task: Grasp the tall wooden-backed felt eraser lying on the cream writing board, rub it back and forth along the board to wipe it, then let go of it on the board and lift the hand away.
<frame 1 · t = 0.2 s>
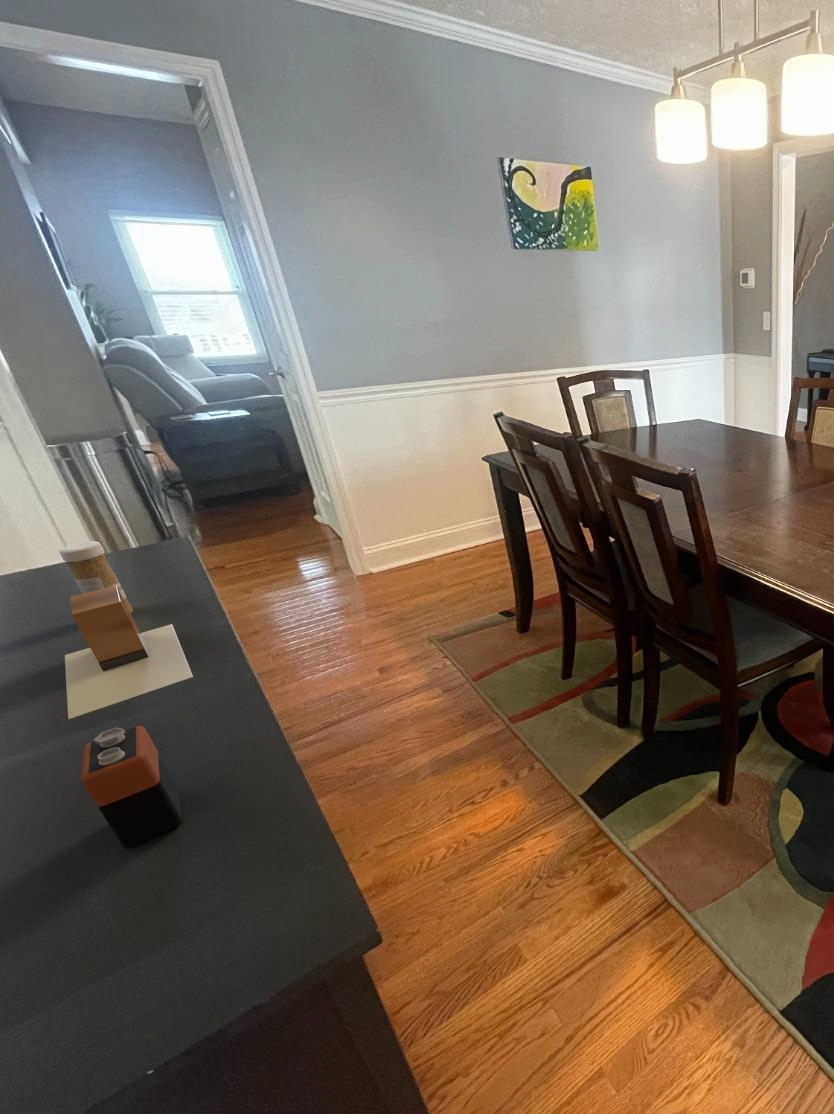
battery: (154, 820, 61), on the table
sprinkles bottle: (118, 620, 99), on the table
board: (129, 671, 85), on the table
eraser: (123, 652, 88), point 1 cm above the table, touching board
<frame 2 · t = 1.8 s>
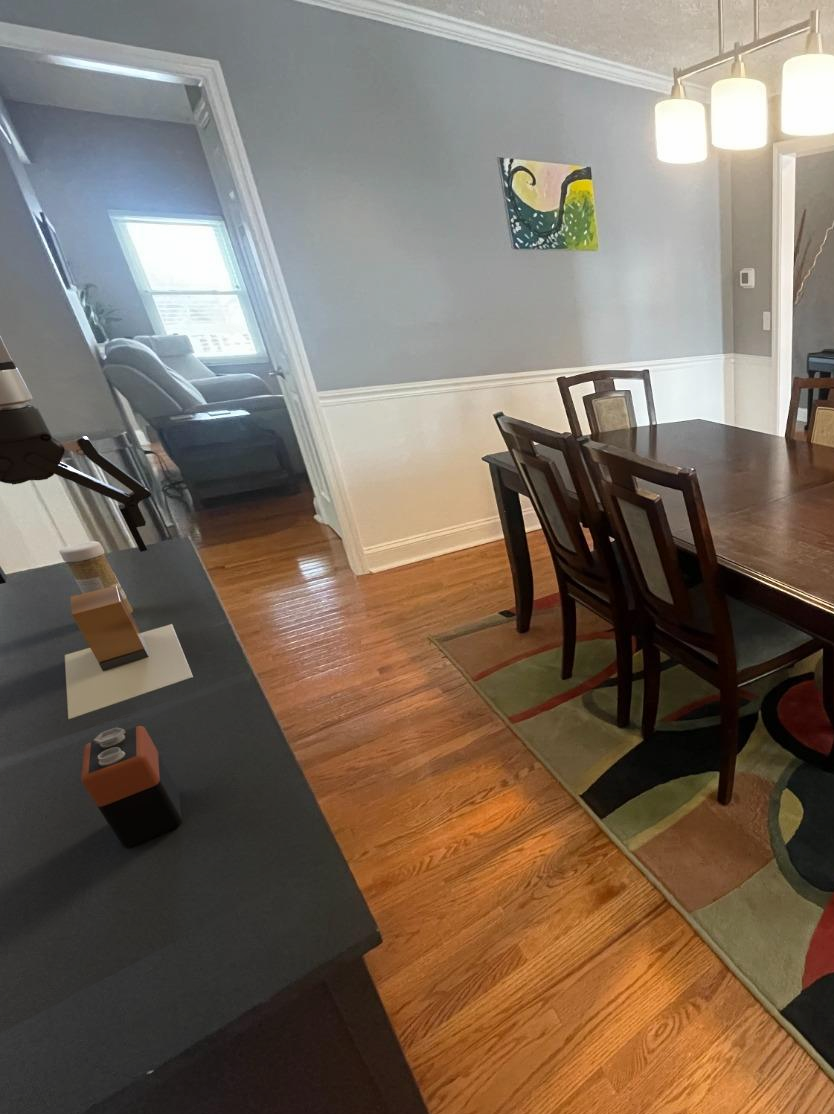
hand: (76, 564, 82), 15 cm above the table, tool pointing down, fingers open, 13 cm apart
nothing on the table moved.
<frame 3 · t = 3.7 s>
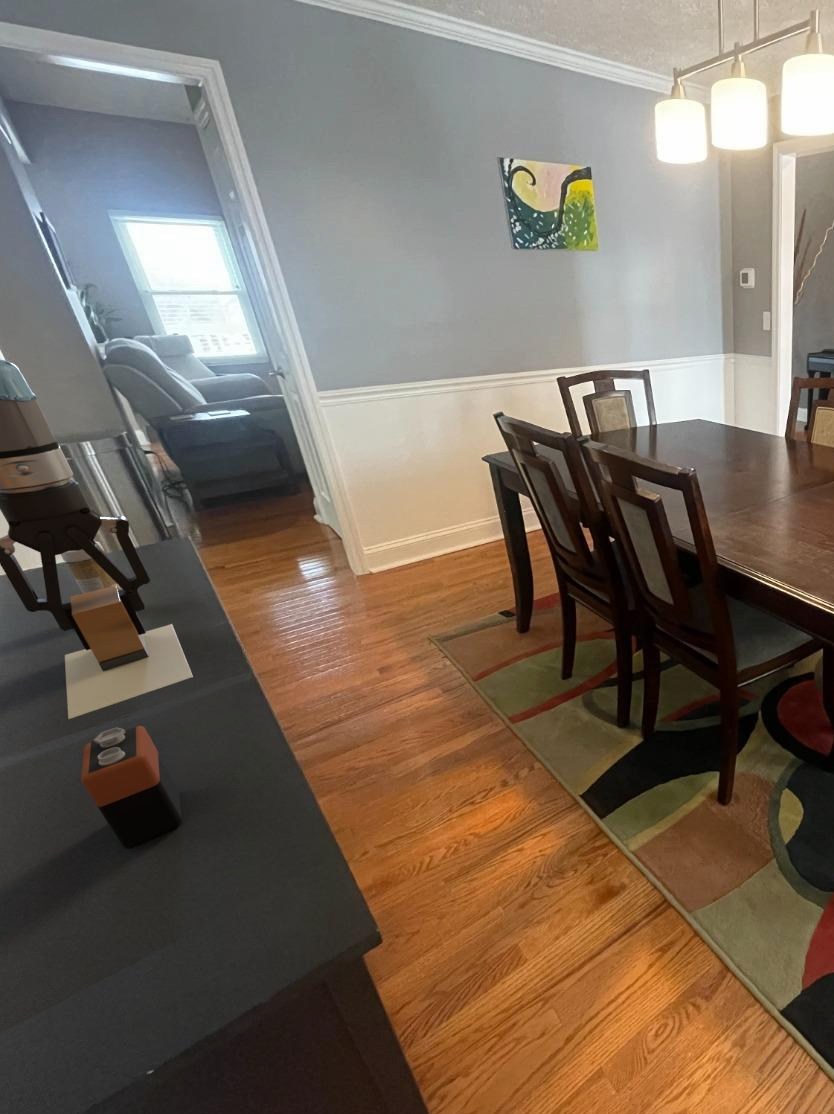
hand: (115, 638, 87), 4 cm above the table, tool pointing down, fingers closed on eraser, 5 cm apart
eraser: (123, 652, 88), point 1 cm above the table, touching board, gripper
everything else where it was.
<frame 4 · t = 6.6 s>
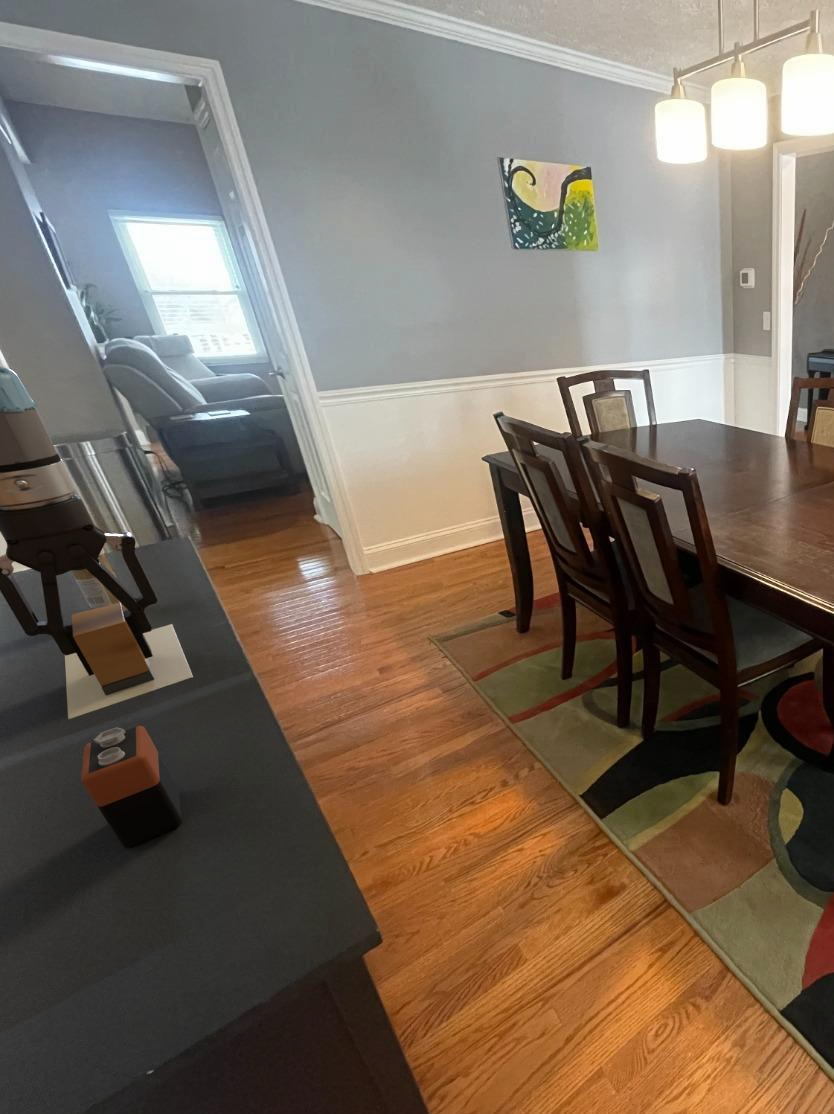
hand: (120, 661, 82), 3 cm above the table, tool pointing down, fingers closed on eraser, 5 cm apart
eraser: (128, 674, 83), point 1 cm above the table, touching gripper
everything else where it was.
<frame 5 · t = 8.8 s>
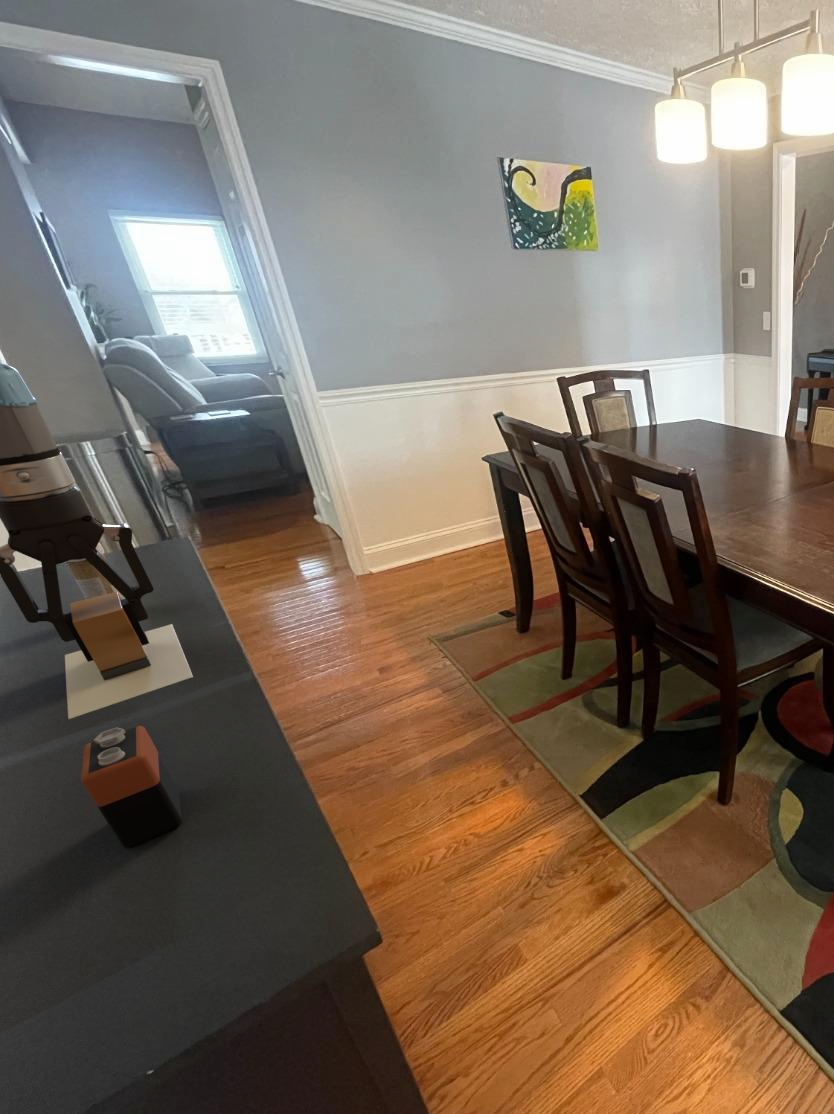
hand: (118, 648, 85), 3 cm above the table, tool pointing down, fingers closed on eraser, 5 cm apart
eraser: (125, 660, 86), point 1 cm above the table, touching gripper
everything else where it was.
when the fingers open (3 cm above the table, at t = 9.7 s): eraser stays where it is, resting on board.
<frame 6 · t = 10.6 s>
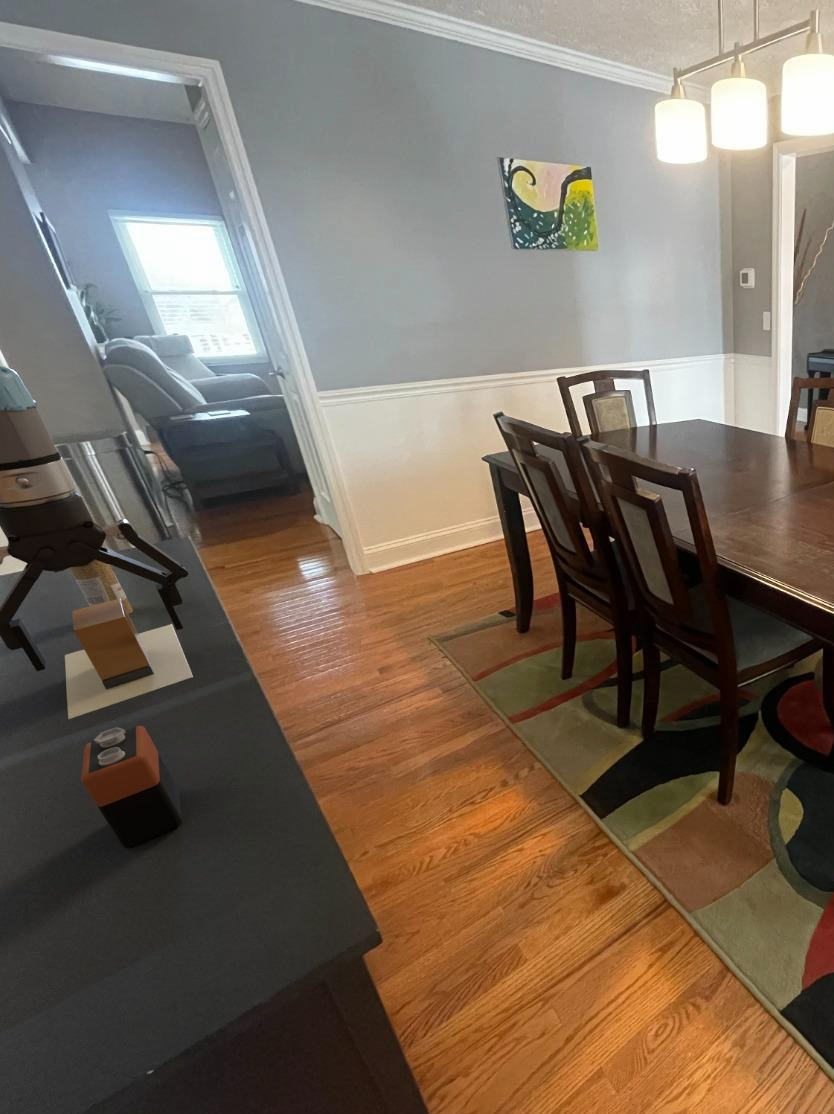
hand: (114, 645, 82), 5 cm above the table, tool pointing down, fingers open, 13 cm apart
eraser: (127, 669, 84), point 1 cm above the table, touching board
everything else where it was.
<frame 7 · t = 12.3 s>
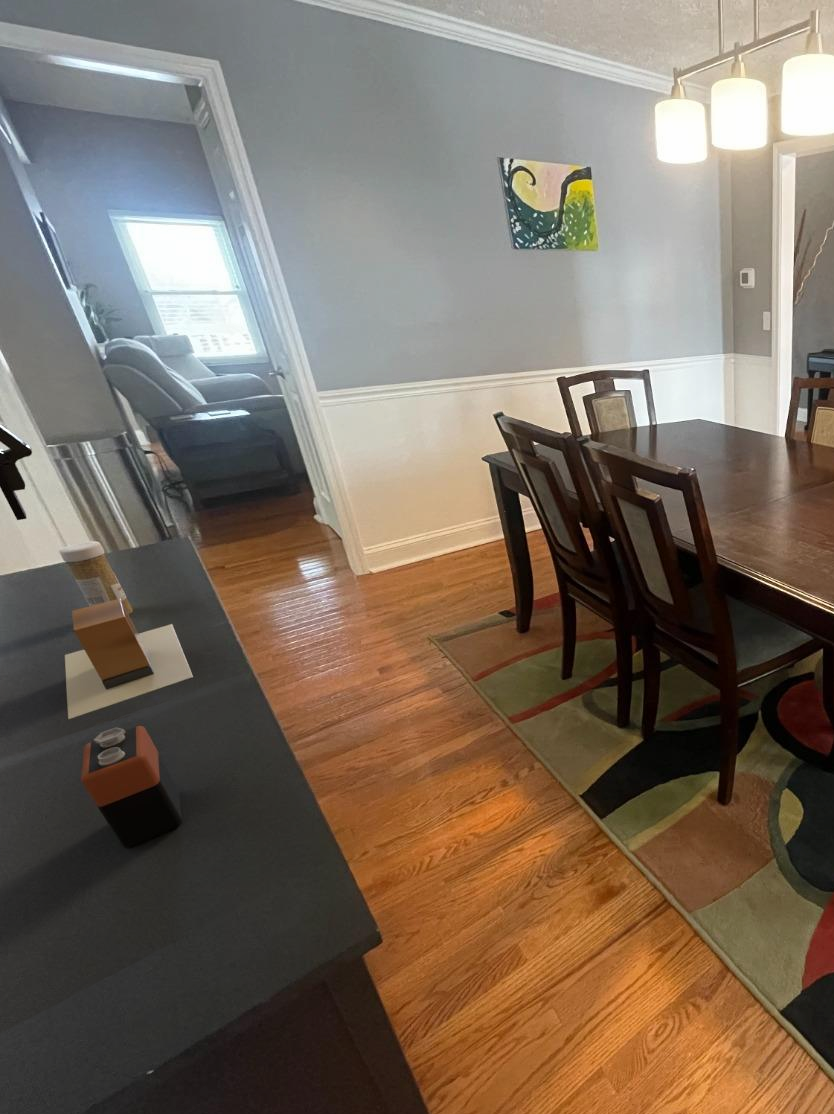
nothing on the table moved.
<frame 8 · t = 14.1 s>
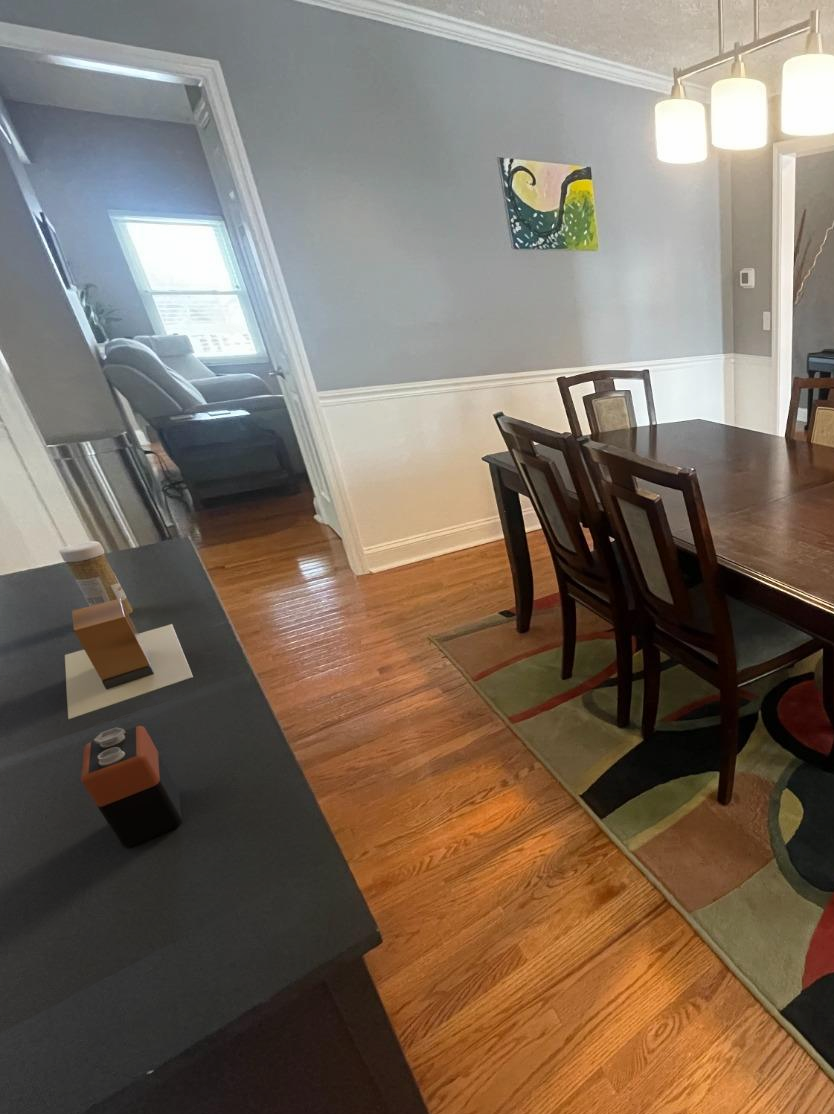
nothing on the table moved.
at the end: eraser moved 6.5 cm from its start; eraser touching board; eraser tilted 0°; the gripper is holding nothing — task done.
